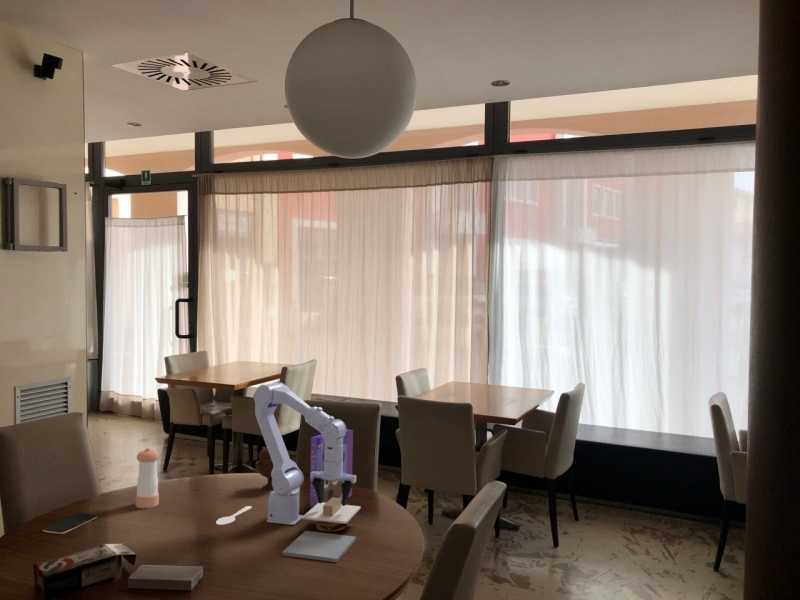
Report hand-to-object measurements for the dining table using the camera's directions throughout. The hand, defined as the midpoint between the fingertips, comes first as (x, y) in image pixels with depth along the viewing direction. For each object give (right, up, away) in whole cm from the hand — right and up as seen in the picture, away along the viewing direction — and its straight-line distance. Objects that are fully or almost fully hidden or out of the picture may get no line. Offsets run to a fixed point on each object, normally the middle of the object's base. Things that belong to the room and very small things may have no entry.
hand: (332, 503), depth 193 cm
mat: (-2, -8, -15) cm, 17 cm away
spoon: (-33, -7, +9) cm, 35 cm away
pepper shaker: (-65, -6, +18) cm, 67 cm away
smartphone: (-81, -7, -1) cm, 81 cm away
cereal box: (-3, -8, +25) cm, 26 cm away
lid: (0, -3, 0) cm, 3 cm away
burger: (0, -8, +1) cm, 8 cm away
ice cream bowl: (-27, -7, +38) cm, 48 cm away
